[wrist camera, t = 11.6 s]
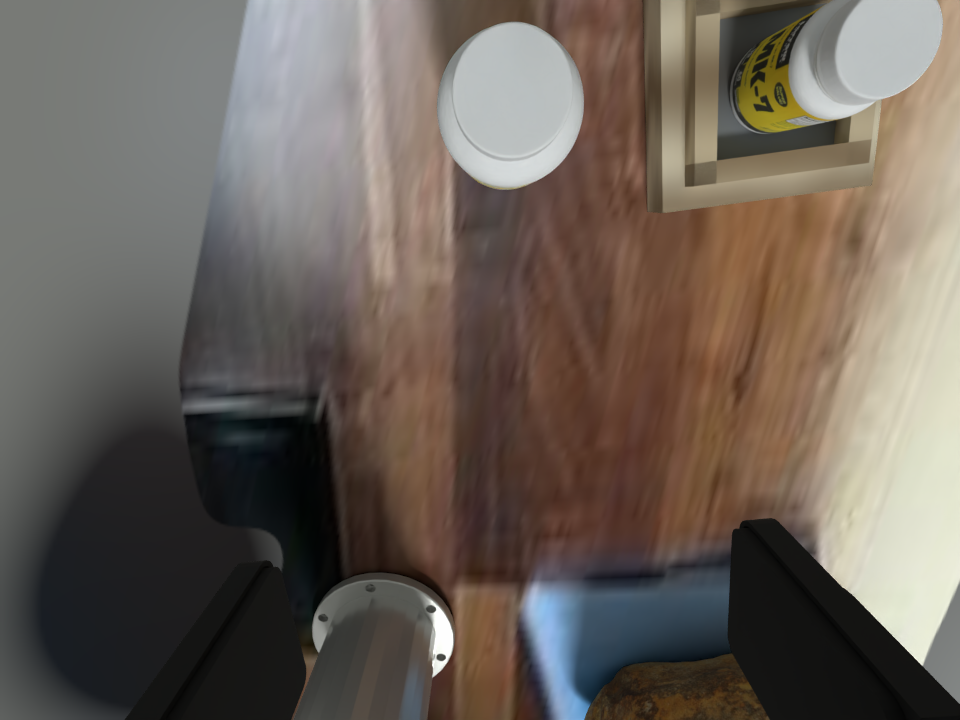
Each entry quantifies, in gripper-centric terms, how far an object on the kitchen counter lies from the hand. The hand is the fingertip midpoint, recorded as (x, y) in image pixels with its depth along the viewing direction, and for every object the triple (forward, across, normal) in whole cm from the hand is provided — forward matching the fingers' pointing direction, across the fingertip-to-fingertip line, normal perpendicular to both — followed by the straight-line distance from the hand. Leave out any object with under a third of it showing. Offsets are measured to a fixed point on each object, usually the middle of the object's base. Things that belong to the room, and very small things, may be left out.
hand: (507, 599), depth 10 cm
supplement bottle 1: (+25, -2, -13) cm, 28 cm away
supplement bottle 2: (+22, -17, -13) cm, 30 cm away
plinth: (+25, -17, -13) cm, 33 cm away
